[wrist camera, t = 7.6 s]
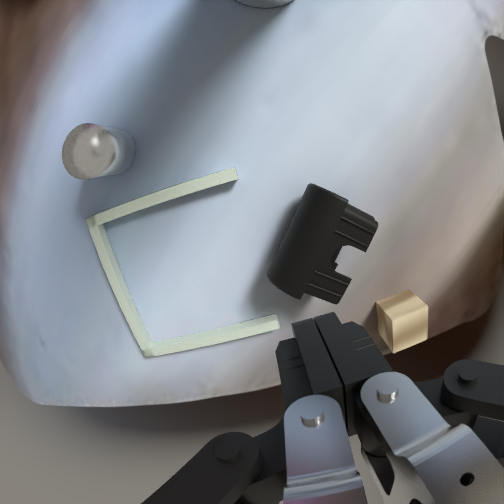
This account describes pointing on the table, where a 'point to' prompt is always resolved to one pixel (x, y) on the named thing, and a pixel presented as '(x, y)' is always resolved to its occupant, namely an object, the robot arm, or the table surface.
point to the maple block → (402, 320)
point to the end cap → (319, 245)
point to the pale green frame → (122, 290)
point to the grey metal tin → (97, 151)
